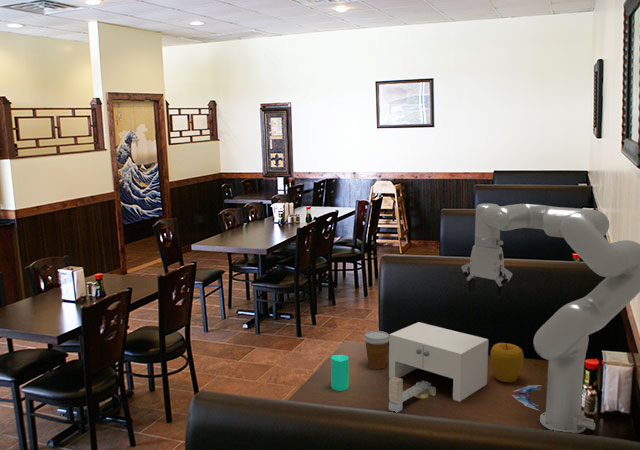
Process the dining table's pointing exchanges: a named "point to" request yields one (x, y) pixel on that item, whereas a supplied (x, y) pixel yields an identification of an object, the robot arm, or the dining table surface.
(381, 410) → the dining table surface
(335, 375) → the candle
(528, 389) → the decorative blades
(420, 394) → the brass token
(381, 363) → the disposable coffee cup
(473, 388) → the cabinet
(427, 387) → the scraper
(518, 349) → the apple
